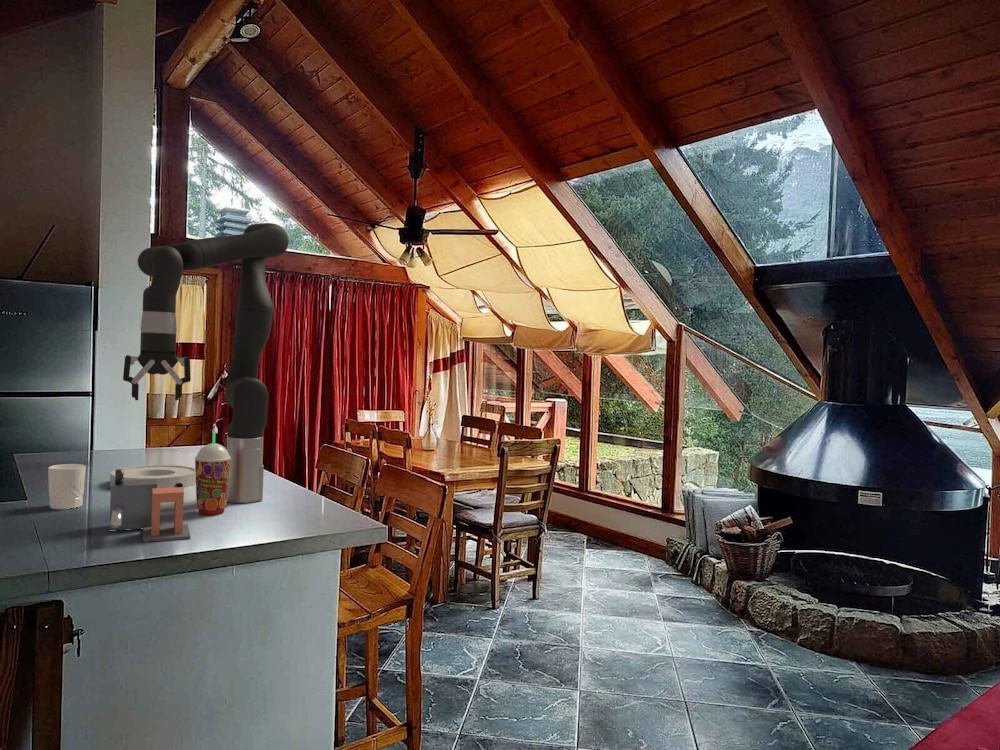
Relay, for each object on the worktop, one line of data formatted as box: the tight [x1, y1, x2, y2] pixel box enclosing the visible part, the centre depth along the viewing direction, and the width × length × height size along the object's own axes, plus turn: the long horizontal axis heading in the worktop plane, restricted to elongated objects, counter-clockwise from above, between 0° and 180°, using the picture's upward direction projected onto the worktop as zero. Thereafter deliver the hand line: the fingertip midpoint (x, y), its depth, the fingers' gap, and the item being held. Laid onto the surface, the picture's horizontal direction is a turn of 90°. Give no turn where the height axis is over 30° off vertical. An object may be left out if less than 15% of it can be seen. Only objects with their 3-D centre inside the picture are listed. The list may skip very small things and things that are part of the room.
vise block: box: [109, 468, 157, 531], centre depth 149 cm, size 18×9×13 cm, turn 27°
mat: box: [142, 523, 191, 543], centre depth 149 cm, size 9×11×1 cm
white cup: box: [47, 463, 87, 510], centre depth 170 cm, size 8×8×10 cm
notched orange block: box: [151, 486, 185, 536], centre depth 149 cm, size 6×6×9 cm
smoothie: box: [194, 432, 231, 516], centre depth 170 cm, size 8×8×20 cm
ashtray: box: [109, 464, 196, 489], centre depth 202 cm, size 23×23×4 cm
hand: (156, 400), depth 163 cm, fingers open, 8 cm apart
